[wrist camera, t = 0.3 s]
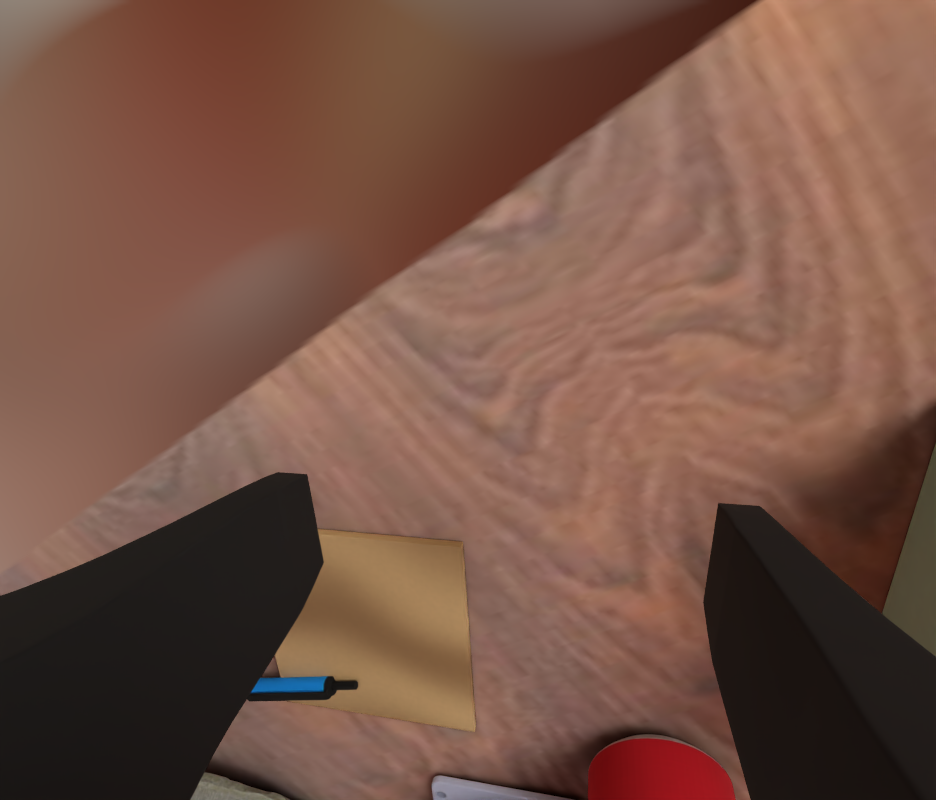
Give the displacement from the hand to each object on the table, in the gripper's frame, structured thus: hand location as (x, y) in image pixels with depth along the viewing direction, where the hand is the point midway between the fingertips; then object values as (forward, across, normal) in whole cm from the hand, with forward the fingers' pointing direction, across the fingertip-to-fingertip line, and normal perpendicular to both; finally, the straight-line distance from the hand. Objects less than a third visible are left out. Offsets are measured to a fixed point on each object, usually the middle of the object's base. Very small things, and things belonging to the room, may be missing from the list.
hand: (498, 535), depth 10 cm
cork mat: (+10, +8, +14) cm, 19 cm away
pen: (+10, +18, +19) cm, 28 cm away
